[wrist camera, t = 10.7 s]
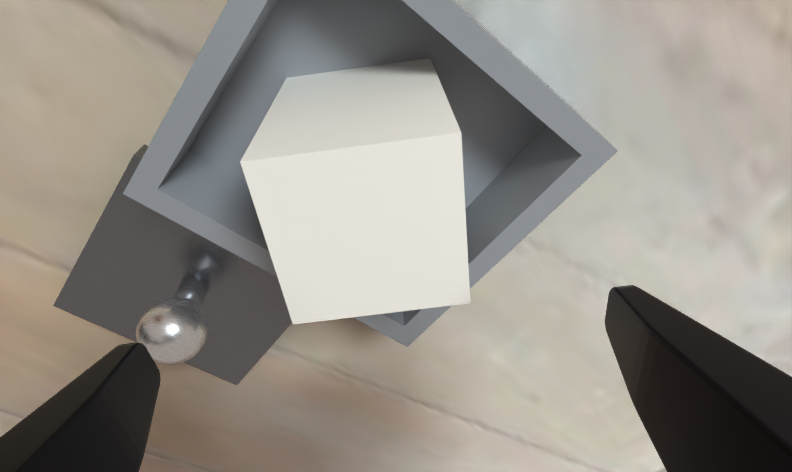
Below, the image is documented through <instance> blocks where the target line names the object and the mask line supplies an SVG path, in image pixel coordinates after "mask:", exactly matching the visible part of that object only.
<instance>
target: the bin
mask: <svg viewBox="0 0 792 472" xmlns="http://www.w3.org/2000/svg"><path fill="white" fill-rule="evenodd" d="M427 58H430V59H431V61H432V63H433V66H434V68H435V71H436V73H437V75H438V78H439V80H440V83H441V85H442V87H443V90H444V92H445V95H446V97H447V99H448V102H449V104H450V107H451V109H452V111H453V114H454V116H455V119H456V121H457V123H458V126H459V128H460V131H461V135H462V154H463V173H464V192H465V211H466V229H467V248H468V267H469V286H470V288H471V287H472V286H473V285H474V284H475V283H476V282H478V281H479V280H480V279H481V278H482V277H483V276H484V275H485V274H486V273H487V272H488V271H489V270H490V269H491V268H493V267H494V266H495V265H496V264H497V263H498V262H499V261H500V260H501V259H502V258H503V257H504V256H505V255H507V254H508V253H509V252H510V251H511V250H512V249H513V248H514V247H515V246H516V245H517V244H518V243H519V242H520V241H522V240H523V239H524V238H525V237H526V236H527V235H528V234H529V233H530V232H531V231H532V230H533V229H534V228H536V227H537V226H538V225H539V224H540V223H541V222H542V221H543V220H544V219H545V218H546V217H547V216H548V215H549V214H551V213H552V212H553V211H554V210H555V209H556V208H557V207H558V206H559V205H560V204H561V203H562V202H563V201H565V200H566V199H567V198H568V197H569V196H570V195H571V194H572V193H573V192H574V191H575V190H576V189H577V188H578V187H580V186H581V185H582V184H583V183H584V182H585V181H586V180H587V179H588V178H589V177H590V176H591V175H592V174H594V173H595V172H596V171H597V170H598V169H599V168H600V167H601V166H602V165H603V164H604V163H605V162H606V161H607V160H609V159H610V158H611V157H612V156H613V155H614V154H615V153H616V152H617V151H618V150H617V149H615V148H614V147H613V146H612V145H611V144H610V143H609V142H608V141H607V140H606V139H605V138H604V137H603V136H602V135H601V134H599V133H598V132H597V131H596V130H595V129H594V128H593V127H592V126H591V125H590V124H589V123H588V122H587V121H586V120H585V119H584V118H582V117H581V116H580V115H579V114H578V113H577V112H576V111H575V110H574V109H573V108H572V107H571V106H570V105H568V104H567V103H566V102H565V101H564V100H563V99H562V98H561V97H560V96H558V95H557V94H556V93H555V92H554V91H553V90H552V89H551V88H550V87H549V86H547V85H546V84H545V83H544V82H543V81H542V80H541V79H540V78H539V77H538V76H536V75H535V74H534V73H533V72H532V71H531V70H530V69H529V68H528V67H527V66H525V65H524V64H523V63H522V62H521V61H520V60H519V59H518V58H517V57H515V56H514V55H513V54H512V53H511V52H510V51H509V50H508V49H507V48H506V47H504V46H503V45H502V44H501V43H500V42H499V41H498V40H497V39H496V38H495V37H493V36H492V35H491V34H490V33H489V32H488V31H487V30H486V29H485V28H484V27H482V26H481V25H480V24H479V23H478V22H477V21H476V20H475V19H474V18H472V17H471V16H470V15H469V14H468V13H467V12H466V11H465V10H464V9H463V8H461V7H460V6H459V5H458V4H457V3H456V2H455V1H454V0H228V2H227V4H226V6H225V7H224V9H223V11H222V13H221V15H220V17H219V18H218V20H217V22H216V24H215V26H214V28H213V29H212V31H211V33H210V35H209V37H208V39H207V40H206V42H205V44H204V46H203V48H202V50H201V51H200V53H199V55H198V57H197V59H196V61H195V62H194V64H193V66H192V68H191V70H190V72H189V73H188V75H187V77H186V79H185V81H184V83H183V84H182V86H181V88H180V90H179V92H178V94H177V95H176V97H175V99H174V101H173V103H172V104H171V106H170V108H169V110H168V112H167V114H166V115H165V117H164V119H163V121H162V123H161V125H160V126H159V128H158V130H157V132H156V134H155V136H154V137H153V139H152V141H151V143H150V145H149V147H148V148H147V150H146V152H145V154H144V156H143V158H142V159H141V161H140V163H139V165H138V167H137V169H136V170H135V172H134V174H133V176H132V178H131V180H130V181H129V183H128V185H127V187H126V189H125V191H124V192H123V194H124V195H126V196H128V197H130V198H131V199H133V200H135V201H137V202H139V203H141V204H143V205H144V206H146V207H148V208H150V209H152V210H154V211H156V212H158V213H159V214H161V215H163V216H165V217H167V218H169V219H171V220H172V221H174V222H176V223H178V224H180V225H182V226H184V227H185V228H187V229H189V230H191V231H193V232H195V233H197V234H198V235H200V236H202V237H204V238H206V239H208V240H210V241H211V242H213V243H215V244H217V245H219V246H221V247H223V248H224V249H226V250H228V251H230V252H232V253H234V254H236V255H237V256H239V257H241V258H243V259H245V260H247V261H249V262H250V263H252V264H254V265H256V266H258V267H260V268H262V269H263V270H265V271H267V272H269V273H271V274H273V275H275V276H276V277H277V274H276V271H275V268H274V265H273V262H272V259H271V256H270V252H269V249H268V246H267V243H266V240H265V237H264V234H263V231H262V228H261V225H260V222H259V219H258V215H257V212H256V209H255V206H254V203H253V200H252V197H251V194H250V191H249V188H248V185H247V182H246V179H245V175H244V172H243V169H242V166H241V163H240V161H241V159H242V157H243V156H244V154H245V152H246V150H247V148H248V147H249V145H250V143H251V141H252V139H253V138H254V136H255V134H256V132H257V130H258V129H259V127H260V125H261V123H262V121H263V119H264V118H265V116H266V114H267V112H268V110H269V109H270V107H271V105H272V103H273V101H274V100H275V98H276V96H277V94H278V92H279V91H280V89H281V87H282V85H283V83H284V81H285V80H286V78H289V77H297V76H304V75H311V74H318V73H326V72H333V71H340V70H347V69H355V68H362V67H369V66H376V65H384V64H391V63H398V62H405V61H413V60H420V59H427ZM451 306H452V305H451ZM451 306H443V307H434V308H426V309H418V310H410V311H401V312H393V313H385V314H376V315H368V316H360V317H353V318H355V319H356V320H358V321H360V322H362V323H364V324H366V325H368V326H369V327H371V328H373V329H375V330H377V331H379V332H381V333H382V334H384V335H386V336H388V337H390V338H392V339H394V340H395V341H397V342H399V343H401V344H403V345H405V346H407V347H408V346H409V345H410V344H411V343H412V342H413V341H414V340H415V339H416V338H417V337H418V336H419V335H421V334H422V333H423V332H424V331H425V330H426V329H427V328H428V327H429V326H430V325H431V324H432V323H433V322H435V321H436V320H437V319H438V318H439V317H440V316H441V315H442V314H443V313H444V312H445V311H446V310H447V309H448V308H450V307H451Z"/></svg>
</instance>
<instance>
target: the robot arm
mask: <svg viewBox="0 0 792 472" xmlns="http://www.w3.org/2000/svg"><path fill="white" fill-rule="evenodd" d="M605 327H606V331H607V334H608V337H609V340H610V342H611V345H612V348H613V351H614V353H615V356H616V359H617V361H618V364H619V367H620V370H621V372H622V375H623V378H624V380H625V383H626V386H627V389H628V391H629V394H630V396H631V399H632V402H633V404H634V406H635V408H636V410H637V413H638V415H639V417H640V419H641V421H642V423H643V425H644V427H645V429H646V431H647V433H648V435H649V437H650V439H651V441H652V443H653V445H654V447H655V449H656V451H657V453H658V455H659V457H660V458H661V460H662V462H663V464H664V466H665V468H666V470H667V472H792V377H791V376H790V375H788V374H786V373H784V372H783V371H781V370H779V369H777V368H776V367H774V366H772V365H771V364H769V363H767V362H765V361H764V360H762V359H760V358H759V357H757V356H755V355H753V354H752V353H750V352H748V351H747V350H745V349H743V348H741V347H740V346H738V345H736V344H735V343H733V342H731V341H729V340H728V339H726V338H724V337H723V336H721V335H719V334H717V333H716V332H714V331H712V330H711V329H709V328H707V327H705V326H704V325H702V324H700V323H699V322H697V321H695V320H693V319H692V318H690V317H688V316H686V315H685V314H683V313H681V312H680V311H678V310H676V309H674V308H673V307H671V306H669V305H668V304H666V303H664V302H662V301H661V300H659V299H657V298H656V297H654V296H652V295H650V294H649V293H647V292H645V291H644V290H642V289H640V288H638V287H636V286H634V285H628V286H619V287H614V288H612V289H611V290H610V292H609V296H608V303H607V310H606V316H605ZM159 386H160V372H159V369H158V367H157V366H156V364H155V362H154V360H153V359H152V357H151V355H150V353H149V351H148V350H147V348H146V346H145V345H143V344H142V343H128V344H122V345H119V346H117V347H116V348H114V349H113V350H112V351H110V352H109V353H108V354H107V355H105V356H104V357H103V358H102V359H100V360H99V361H98V362H96V363H95V364H94V365H93V366H91V367H90V368H89V369H87V370H86V371H85V372H84V373H82V374H81V375H80V376H78V377H77V378H76V379H75V380H73V381H72V382H71V383H69V384H68V385H67V386H66V387H64V388H63V389H62V390H61V391H59V392H58V393H57V394H55V395H54V396H53V397H52V398H50V399H49V400H48V401H46V402H45V403H44V404H43V405H41V406H40V407H39V408H37V409H36V410H35V411H34V412H32V413H31V414H30V415H28V416H27V417H26V418H25V419H23V420H22V421H21V422H19V423H18V424H17V425H16V426H14V427H13V428H12V429H11V430H9V431H8V432H7V433H5V434H4V435H3V436H2V437H0V472H139V469H140V466H141V462H142V459H143V456H144V452H145V448H146V444H147V440H148V435H149V431H150V426H151V422H152V417H153V413H154V408H155V404H156V399H157V395H158V390H159Z"/></svg>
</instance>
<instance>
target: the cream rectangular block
mask: <svg viewBox="0 0 792 472" xmlns="http://www.w3.org/2000/svg"><path fill="white" fill-rule="evenodd" d="M240 163H241V166H242V169H243V172H244V175H245V179H246V182H247V185H248V188H249V191H250V194H251V197H252V200H253V203H254V206H255V209H256V212H257V215H258V219H259V222H260V225H261V228H262V231H263V234H264V237H265V240H266V243H267V246H268V249H269V252H270V256H271V259H272V262H273V265H274V268H275V271H276V274H277V277H278V280H279V283H280V286H281V289H282V292H283V296H284V299H285V302H286V305H287V308H288V311H289V314H290V317H291V320H292V323H293V324H301V323H310V322H318V321H326V320H335V319H343V318H351V317H360V316H368V315H376V314H385V313H393V312H401V311H410V310H418V309H426V308H434V307H443V306H451V305H459V304H468V303H470V286H469V267H468V248H467V229H466V211H465V192H464V173H463V154H462V135H461V131H460V128H459V126H458V123H457V121H456V119H455V116H454V114H453V111H452V109H451V107H450V104H449V102H448V99H447V97H446V95H445V92H444V90H443V87H442V85H441V83H440V80H439V78H438V75H437V73H436V71H435V68H434V66H433V63H432V61H431V59H430V58H427V59H420V60H413V61H405V62H398V63H391V64H384V65H376V66H369V67H362V68H355V69H347V70H340V71H333V72H326V73H318V74H311V75H304V76H297V77H289V78H286V80H285V81H284V83H283V85H282V87H281V89H280V91H279V92H278V94H277V96H276V98H275V100H274V101H273V103H272V105H271V107H270V109H269V110H268V112H267V114H266V116H265V118H264V119H263V121H262V123H261V125H260V127H259V129H258V130H257V132H256V134H255V136H254V138H253V139H252V141H251V143H250V145H249V147H248V148H247V150H246V152H245V154H244V156H243V157H242V159H241V161H240Z"/></svg>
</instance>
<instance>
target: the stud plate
mask: <svg viewBox="0 0 792 472" xmlns="http://www.w3.org/2000/svg"><path fill="white" fill-rule="evenodd" d="M147 148H148V146H146V145H144V146H143V147H142V148H140V149H139V150H138V151H137V152H136V153H135V154H134V156H133V157H132V159H131V161H130V163H129V165H128V167H127V169H126V171H125V172H124V174H123V176H122V178H121V180H120V182H119V184H118V186H117V187H116V189H115V191H114V193H113V195H112V197H111V199H110V200H109V202H108V204H107V206H106V208H105V210H104V212H103V214H102V215H101V217H100V219H99V221H98V223H97V225H96V227H95V229H94V230H93V232H92V234H91V236H90V238H89V240H88V242H87V244H86V245H85V247H84V249H83V251H82V253H81V255H80V257H79V258H78V260H77V262H76V264H75V266H74V268H73V270H72V272H71V273H70V275H69V277H68V279H67V281H66V283H65V285H64V287H63V288H62V290H61V292H60V294H59V296H58V298H57V300H56V301H55V303H54V305H53V306H55V307H57V308H60V309H62V310H64V311H67V312H69V313H71V314H73V315H76V316H78V317H80V318H83V319H85V320H87V321H90V322H92V323H94V324H97V325H99V326H101V327H104V328H106V329H108V330H111V331H113V332H115V333H117V334H120V335H122V336H124V337H127V338H129V339H131V340H134V341H136V342H137V343H142V344H143V345H145V346H146V348H147V350H148V351H149V353H150V355H151V357H152V359H153V360H154V361H155V362H157V363H161V364H178V363H182V362H185V363H187V364H189V365H192V366H194V367H196V368H199V369H201V370H203V371H205V372H208V373H210V374H212V375H215V376H217V377H219V378H222V379H224V380H226V381H229V382H231V383H233V384H236V385H237V384H238V383H239V382H240V381H241V380H242V379H243V378H244V376H245V375H246V374H247V373H248V372H249V371H250V370H251V368H252V367H253V366H254V365H255V364H256V363H257V362H258V360H259V359H260V358H261V357H262V356H263V355H264V354H265V352H266V351H267V350H268V349H269V348H270V347H271V346H272V345H273V343H274V342H275V341H276V340H277V339H278V338H279V337H280V335H281V334H282V333H283V332H284V331H285V330H286V329H287V327H288V326H289V325H290V324H291V323H292V320H291V317H290V314H289V311H288V308H287V305H286V302H285V299H284V296H283V292H282V289H281V286H280V283H279V280H278V277H276V276H275V275H273V274H271V273H269V272H267V271H265V270H263V269H262V268H260V267H258V266H256V265H254V264H252V263H250V262H249V261H247V260H245V259H243V258H241V257H239V256H237V255H236V254H234V253H232V252H230V251H228V250H226V249H224V248H223V247H221V246H219V245H217V244H215V243H213V242H211V241H210V240H208V239H206V238H204V237H202V236H200V235H198V234H197V233H195V232H193V231H191V230H189V229H187V228H185V227H184V226H182V225H180V224H178V223H176V222H174V221H172V220H171V219H169V218H167V217H165V216H163V215H161V214H159V213H158V212H156V211H154V210H152V209H150V208H148V207H146V206H144V205H143V204H141V203H139V202H137V201H135V200H133V199H131V198H130V197H128V196H126V195H124V194H123V192H124V191H125V189H126V187H127V185H128V183H129V181H130V180H131V178H132V176H133V174H134V172H135V170H136V169H137V167H138V165H139V163H140V161H141V159H142V158H143V156H144V154H145V152H146V150H147Z"/></svg>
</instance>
